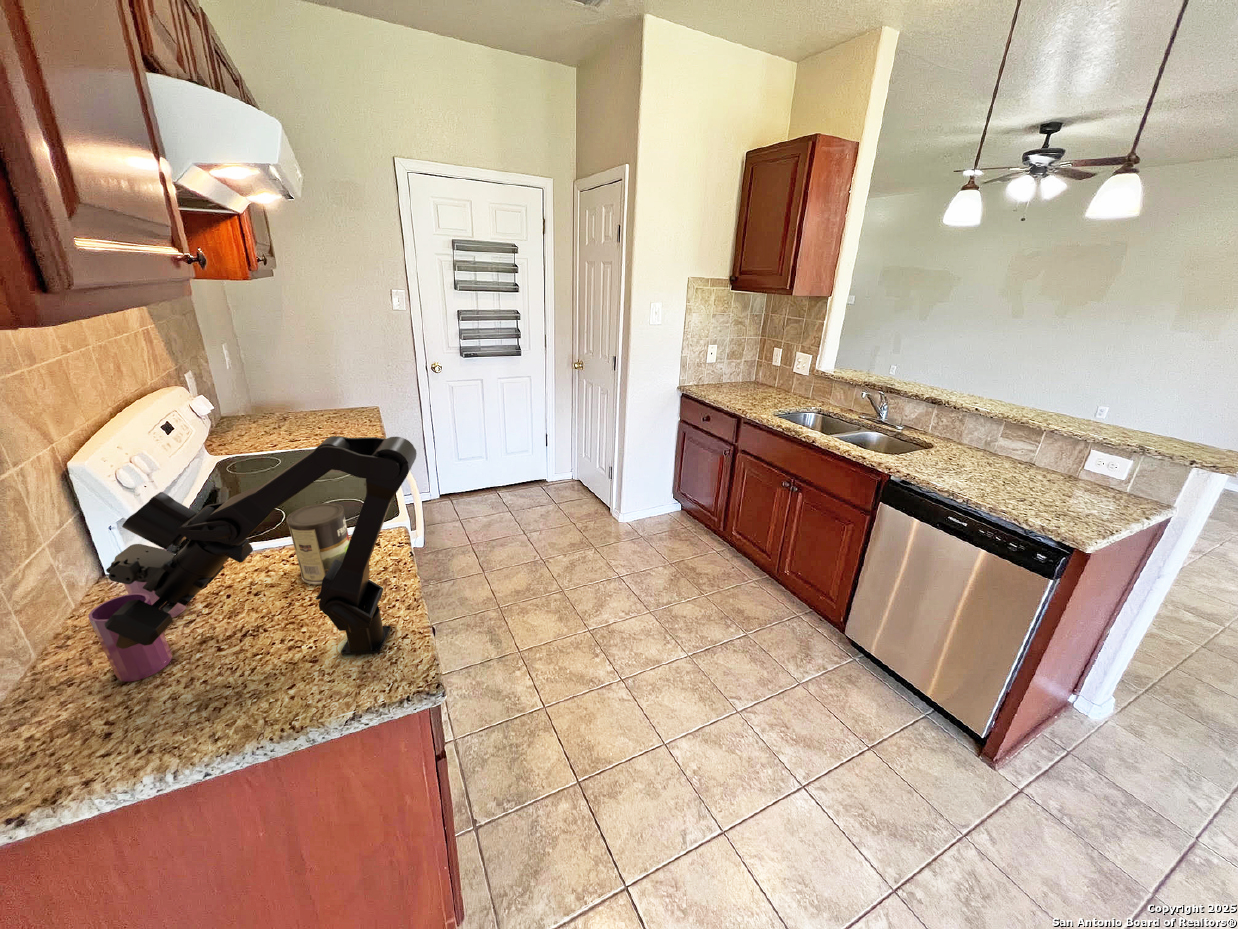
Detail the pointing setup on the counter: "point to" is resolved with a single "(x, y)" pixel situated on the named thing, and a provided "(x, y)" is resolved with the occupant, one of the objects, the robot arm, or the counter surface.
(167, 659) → the plum cup
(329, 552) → the coffee can
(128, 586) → the lavender cup
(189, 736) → the counter surface
